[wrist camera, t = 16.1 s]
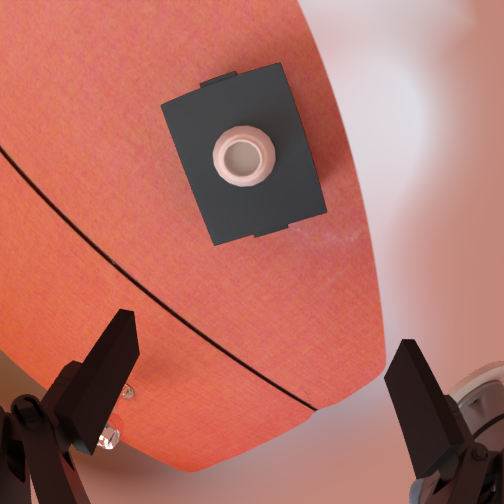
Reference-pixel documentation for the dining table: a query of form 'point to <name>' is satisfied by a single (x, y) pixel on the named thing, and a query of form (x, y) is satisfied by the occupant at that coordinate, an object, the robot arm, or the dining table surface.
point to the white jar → (244, 156)
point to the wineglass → (114, 423)
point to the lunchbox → (255, 115)
